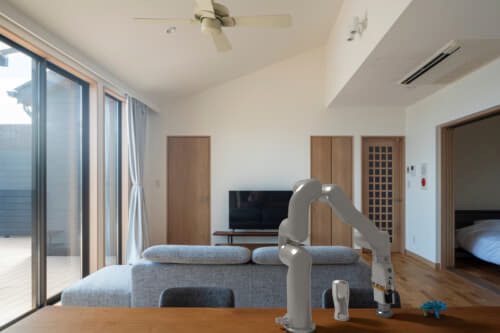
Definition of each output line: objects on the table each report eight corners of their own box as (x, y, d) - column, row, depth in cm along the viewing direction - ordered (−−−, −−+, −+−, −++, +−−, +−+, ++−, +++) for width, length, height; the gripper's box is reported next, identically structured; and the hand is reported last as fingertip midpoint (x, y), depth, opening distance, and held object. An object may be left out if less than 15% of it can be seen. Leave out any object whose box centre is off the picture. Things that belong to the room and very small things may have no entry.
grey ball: (383, 319, 122) (382, 306, 123) (373, 313, 128) (372, 301, 129) (396, 317, 124) (395, 305, 124) (385, 312, 130) (385, 300, 130)
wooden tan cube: (394, 303, 125) (393, 289, 125) (382, 304, 123) (382, 290, 124) (385, 298, 130) (384, 285, 131) (374, 300, 129) (373, 286, 130)
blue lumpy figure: (445, 309, 128) (446, 298, 122) (450, 323, 123) (452, 312, 118) (417, 310, 131) (418, 299, 126) (422, 323, 127) (422, 312, 121)
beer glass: (350, 322, 119) (349, 284, 120) (333, 320, 121) (332, 283, 122) (349, 315, 125) (348, 280, 127) (333, 314, 127) (331, 279, 129)
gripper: (402, 262, 121) (405, 307, 119) (376, 254, 138) (378, 294, 136) (387, 263, 120) (390, 308, 118) (362, 255, 136) (364, 295, 134)
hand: (384, 300), depth 127 cm, fingers closed on wooden tan cube, 5 cm apart
